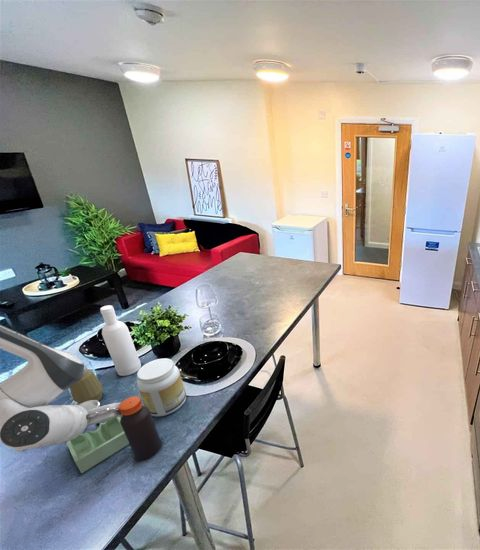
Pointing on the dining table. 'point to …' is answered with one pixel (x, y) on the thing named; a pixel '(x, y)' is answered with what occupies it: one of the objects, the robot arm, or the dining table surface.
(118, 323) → the bottle
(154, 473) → the dining table surface
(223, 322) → the dining table surface
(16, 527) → the dining table surface
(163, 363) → the supplement tub
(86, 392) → the squeeze bottle
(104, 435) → the beer glass
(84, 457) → the tote
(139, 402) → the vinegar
